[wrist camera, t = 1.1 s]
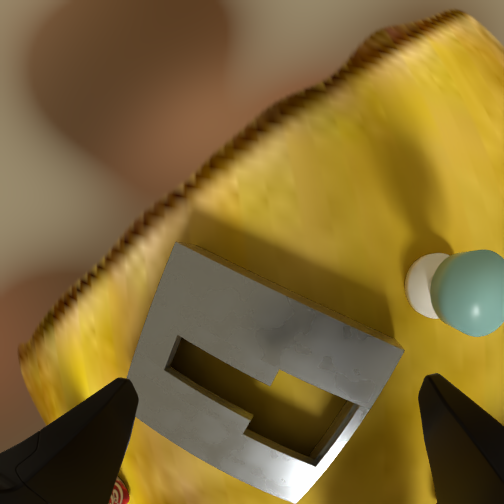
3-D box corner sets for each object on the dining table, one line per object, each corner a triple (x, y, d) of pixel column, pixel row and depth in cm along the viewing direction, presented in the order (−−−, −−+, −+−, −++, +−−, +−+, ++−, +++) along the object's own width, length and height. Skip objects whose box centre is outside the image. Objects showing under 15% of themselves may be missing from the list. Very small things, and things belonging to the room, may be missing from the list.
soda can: (95, 453, 29) (31, 490, 17) (138, 486, 27) (79, 536, 15) (90, 478, 29) (35, 513, 17) (128, 509, 27) (77, 552, 16)
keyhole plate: (395, 339, 21) (404, 350, 18) (301, 481, 22) (295, 503, 19) (195, 245, 26) (175, 241, 22) (140, 392, 27) (119, 403, 23)
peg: (466, 268, 20) (526, 268, 11) (443, 324, 20) (494, 352, 11) (418, 243, 21) (464, 230, 12) (394, 301, 21) (428, 321, 13)
